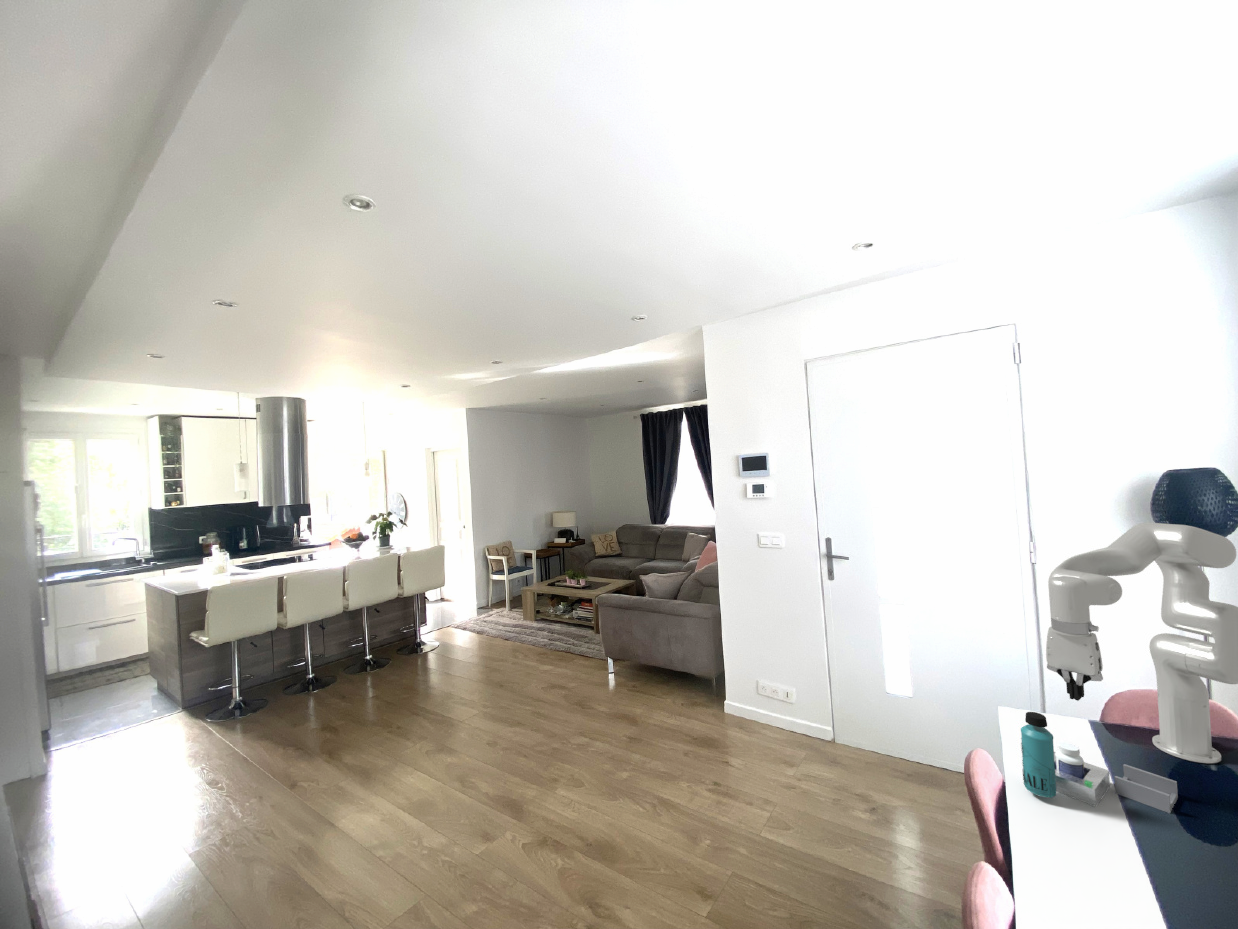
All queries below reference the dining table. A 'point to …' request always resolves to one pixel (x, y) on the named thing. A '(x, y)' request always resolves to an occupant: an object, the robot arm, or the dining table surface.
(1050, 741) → the beverage bottle
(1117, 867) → the dining table surface
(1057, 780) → the port
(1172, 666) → the robot arm
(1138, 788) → the grey open frame
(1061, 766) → the pill bottle
